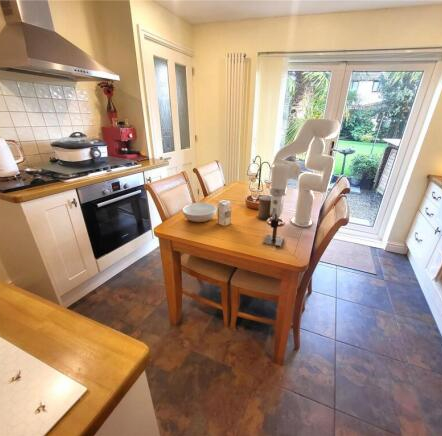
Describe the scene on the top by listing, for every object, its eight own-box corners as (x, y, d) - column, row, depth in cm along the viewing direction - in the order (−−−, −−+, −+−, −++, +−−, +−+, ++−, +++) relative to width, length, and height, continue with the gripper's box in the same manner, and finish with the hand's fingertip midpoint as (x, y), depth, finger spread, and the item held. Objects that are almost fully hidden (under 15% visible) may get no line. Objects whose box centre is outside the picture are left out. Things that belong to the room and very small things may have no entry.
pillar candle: (272, 221, 146) (274, 199, 140) (256, 219, 148) (258, 197, 142) (273, 215, 155) (275, 193, 149) (258, 213, 157) (260, 192, 150)
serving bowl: (198, 209, 160) (198, 199, 157) (223, 216, 150) (223, 206, 147) (175, 220, 143) (175, 209, 140) (202, 229, 134) (202, 218, 131)
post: (267, 236, 129) (269, 215, 123) (283, 239, 126) (286, 217, 121) (263, 244, 121) (265, 221, 115) (280, 248, 119) (283, 225, 113)
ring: (268, 218, 124) (268, 215, 123) (286, 221, 122) (286, 218, 121) (264, 225, 116) (265, 222, 115) (283, 228, 114) (283, 225, 113)
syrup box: (224, 221, 144) (224, 199, 138) (231, 224, 141) (231, 201, 135) (217, 224, 140) (217, 201, 134) (224, 227, 137) (224, 204, 131)
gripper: (283, 197, 100) (279, 235, 108) (288, 187, 114) (284, 221, 122) (266, 195, 102) (263, 232, 110) (273, 185, 116) (270, 218, 123)
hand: (274, 226), depth 116 cm, fingers closed on ring, 2 cm apart
